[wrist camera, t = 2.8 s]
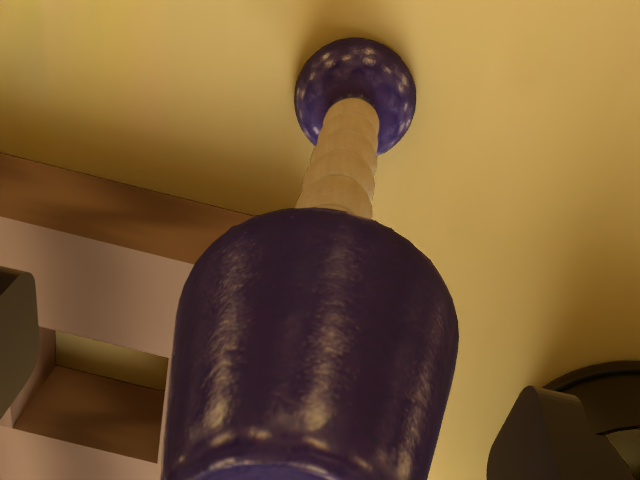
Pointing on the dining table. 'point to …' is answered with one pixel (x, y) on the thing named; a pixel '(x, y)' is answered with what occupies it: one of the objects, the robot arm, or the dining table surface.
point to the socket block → (95, 314)
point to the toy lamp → (317, 311)
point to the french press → (605, 395)
